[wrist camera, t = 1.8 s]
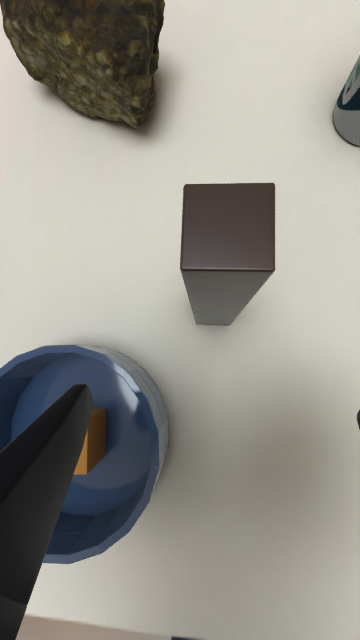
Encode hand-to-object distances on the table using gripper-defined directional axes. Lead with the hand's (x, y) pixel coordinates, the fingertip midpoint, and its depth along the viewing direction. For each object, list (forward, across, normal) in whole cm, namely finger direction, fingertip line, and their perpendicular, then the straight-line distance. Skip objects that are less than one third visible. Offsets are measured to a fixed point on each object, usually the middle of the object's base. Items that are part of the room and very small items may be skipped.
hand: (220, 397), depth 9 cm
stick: (+12, 0, +5) cm, 13 cm away
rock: (+26, +10, -8) cm, 29 cm away
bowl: (+5, +9, +12) cm, 16 cm away
